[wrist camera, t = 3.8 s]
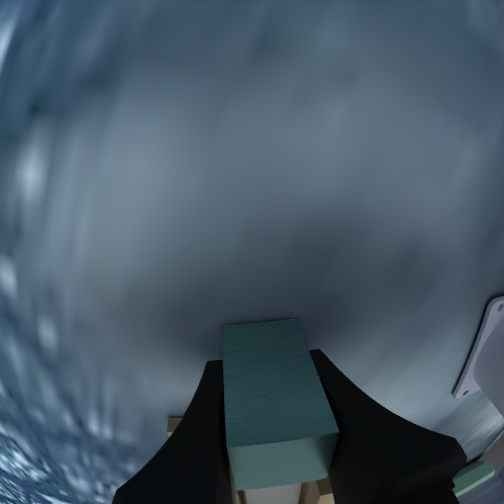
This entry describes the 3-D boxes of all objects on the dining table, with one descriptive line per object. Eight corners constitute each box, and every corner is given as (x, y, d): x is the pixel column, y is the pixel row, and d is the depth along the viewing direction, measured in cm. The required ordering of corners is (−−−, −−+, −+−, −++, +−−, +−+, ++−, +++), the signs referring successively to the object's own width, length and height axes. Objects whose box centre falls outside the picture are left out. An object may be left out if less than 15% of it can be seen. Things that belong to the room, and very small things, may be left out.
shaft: (296, 318, 13) (339, 431, 7) (284, 516, 21) (293, 565, 16) (221, 325, 12) (226, 447, 7) (252, 520, 21) (258, 569, 16)
